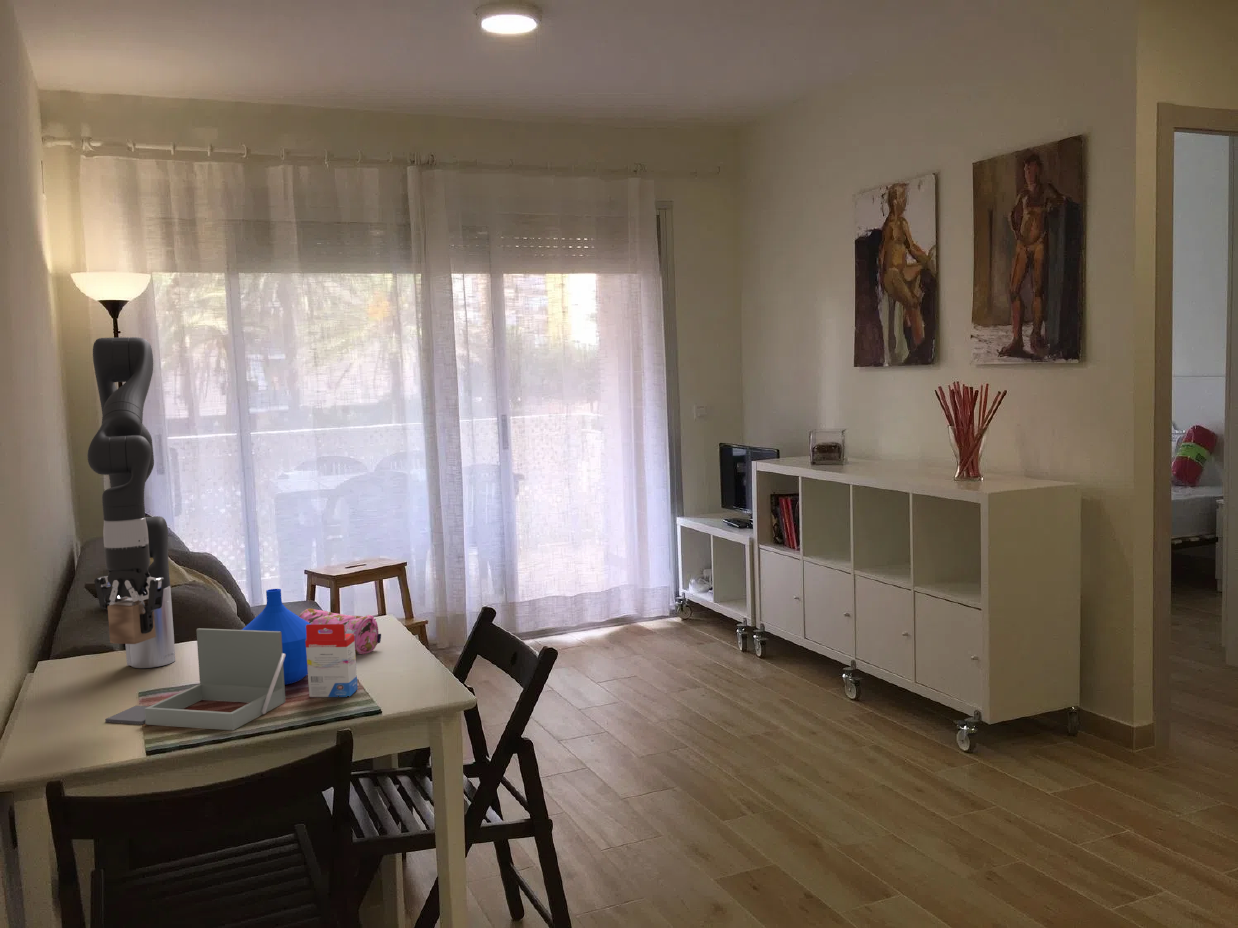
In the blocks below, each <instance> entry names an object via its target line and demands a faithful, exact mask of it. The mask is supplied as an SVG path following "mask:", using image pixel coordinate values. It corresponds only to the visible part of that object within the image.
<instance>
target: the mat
mask: <svg viewBox="0 0 1238 928" xmlns="http://www.w3.org/2000/svg"><path fill="white" fill-rule="evenodd" d="M149 706H150V705H135V706H134V705H133V706H132V707H130V708H127V709H125V710H122V711H120V712H118V713H115V714H113V715H111V716H109V717H107V718H105V720H104V721H105V723H113V724H129V725H143V724H146V722H145V708H147V707H149Z"/></svg>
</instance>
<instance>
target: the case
mask: <svg viewBox="0 0 1238 928" xmlns="http://www.w3.org/2000/svg"><path fill="white" fill-rule="evenodd" d="M196 642H197V656H198V657H197V658H198V659H197V661H198V674H199V683H198V684H196V685H194V686H192V687H189V688H187V689H185V690H183V691H181V692H178V693H176V694H174V695H172V696H171V695H170V696H169V697H167V698H165V699H163V700H161V701H158V702H156V703H154V704H152V705H148V706H149V707H147V708H145V722H146V723H145V725H148V726H163V727H164V726H165V727H176V728H177V727H178V728H191V729H192V728H193V729H208V730H209V729H210V730H222V731H234V730H236V729H238V728H240V727H242V726H244V725H245V724H248V723H250V722H251V721H253V720H255V719H257V718H258V717H260V716H262V715H266V713H268V712H270V711H272V710H273V709H275V708H277V707H279V706H281V705H283V704H285V703H286V690H285V689H286V686H285V685H284V669H283V661H284V658H285V655H286V654H284V653H283V652H282V635H281V631H256V630H242V629H228V628H227V629H225V628H200V627H199V628H196ZM200 701H212V702H213V701H214V702H216V701H217V702H229V703H230V702H231V703H232V702H233V703H246V704H245V705H243V706H241V707H239V708H237V709H235V710H233V711H231V712H228V711H215V710H199V709H198V710H197V709H186V708H189V707H190V706H192V705H194V704H196V703H198V702H200Z"/></svg>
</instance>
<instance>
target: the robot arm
mask: <svg viewBox="0 0 1238 928" xmlns="http://www.w3.org/2000/svg"><path fill="white" fill-rule="evenodd" d="M151 345H152V344H151V343H150V342H149V340H148V339H146V338H143V337H136V336H135V337H134V336H132V337H131V336H130V337H128V336H127V337H124V336H123V337H119V336H118V337H99V338H97V339H95V341H94V342H93V345H92V361H93V368H94V375H95V380H96V384H97V391H98V396H99V401H100V407H101V413H102V417H101V419H102V420H101V425H100V427H99V428H98V431H96V433H95V435H94V436H93V437H92V440H91V441H90V443H89V445H88V450H87V462H88V465H89V467H90V468H91V470H92V471H93V472H95V473H96V474H98V475H105V476H108V478H109V485H110V488H107V489H105V490H104V491H103V492H102V498H101V499H102V501H101V502H102V512H103V528H102V529H103V530H102V532H103V533H102V535H103V547H104V549H103V550H104V551H103V552H104V561H105V562H104V563H105V564H104V565H105V569H106V570H107V571H108V574H107V575H104V576H100V577H97V578H94V580H93V582H94V586H95V590H96V595H97V599H98V603H99V606H100V607H99V608H100V609H101V610H106V611H108V606H109V605H113V604H115V602H119V601H122V600H125V599H129V598H132V600H133V602H134V603H136V604H137V605H139V611H140V613H141V614H140V628H141V633H144V634H146V633H149V632H151V631H152V629H153V614H152V613H153V611H154V618H155V633H156V637H154V638H151V639H148V640H146V641H143V642H140V643H137V644H125V657H126V666H131V667H132V668H136V669H151V668H157V667H162V666H166V665H170V664H172V663H174V662H175V661H176V651H175V634H174V633H175V632H174V621H173V620H174V619H173V604H172V591H171V590H172V589H171V578H170V577H171V576H170V566H169V565H170V564H169V529H168V524H167V521H166V519H165V518H164V517H163V516H159V515H158V516H146V506H145V486H146V482H147V480H148V478H149V477H150V475H151V474H152V471H153V470H154V465H155V460H154V459H155V455H154V448H153V438H152V435H151V434H150V433H151V432H149V430H148V429H147V427H146V426H145V424H144V423H143V415H144V413H143V412H144V405H145V401H146V399H147V396H148V393H149V389H150V384H151V381H152V377H153V373H154V355H153V349H152V346H151ZM116 383H123V384H121V385H120V386H119V387H118V388H117V385H116ZM151 559H153V561H152V562H151ZM143 601H144V602H143ZM144 603H146V606H145V604H144Z"/></svg>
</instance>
